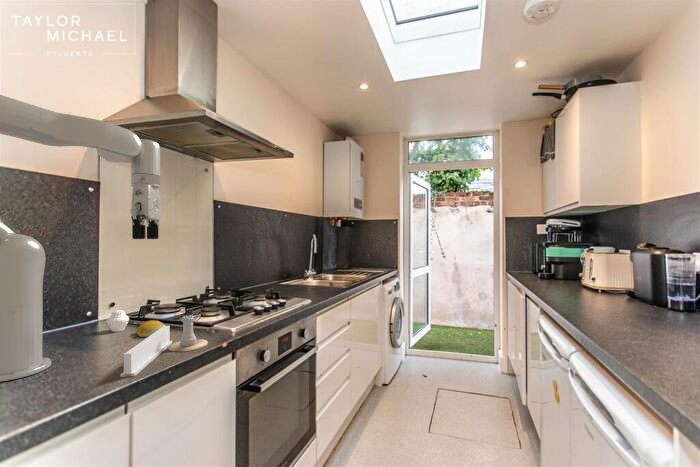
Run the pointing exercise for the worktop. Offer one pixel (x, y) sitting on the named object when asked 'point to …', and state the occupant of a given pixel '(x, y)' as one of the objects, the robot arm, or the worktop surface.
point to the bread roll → (149, 328)
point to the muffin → (118, 321)
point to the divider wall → (146, 352)
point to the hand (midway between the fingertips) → (146, 239)
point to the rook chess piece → (188, 332)
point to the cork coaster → (178, 348)
